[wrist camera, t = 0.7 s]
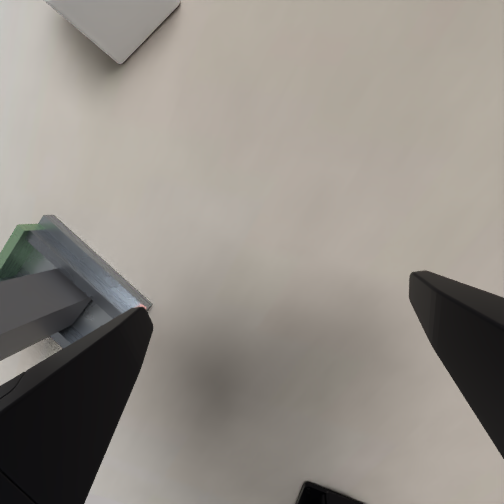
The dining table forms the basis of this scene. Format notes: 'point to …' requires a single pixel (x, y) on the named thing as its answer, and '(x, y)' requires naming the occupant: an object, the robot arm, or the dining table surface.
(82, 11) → the medicine bottle
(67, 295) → the block
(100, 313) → the grey rectangular tray
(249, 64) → the dining table surface
